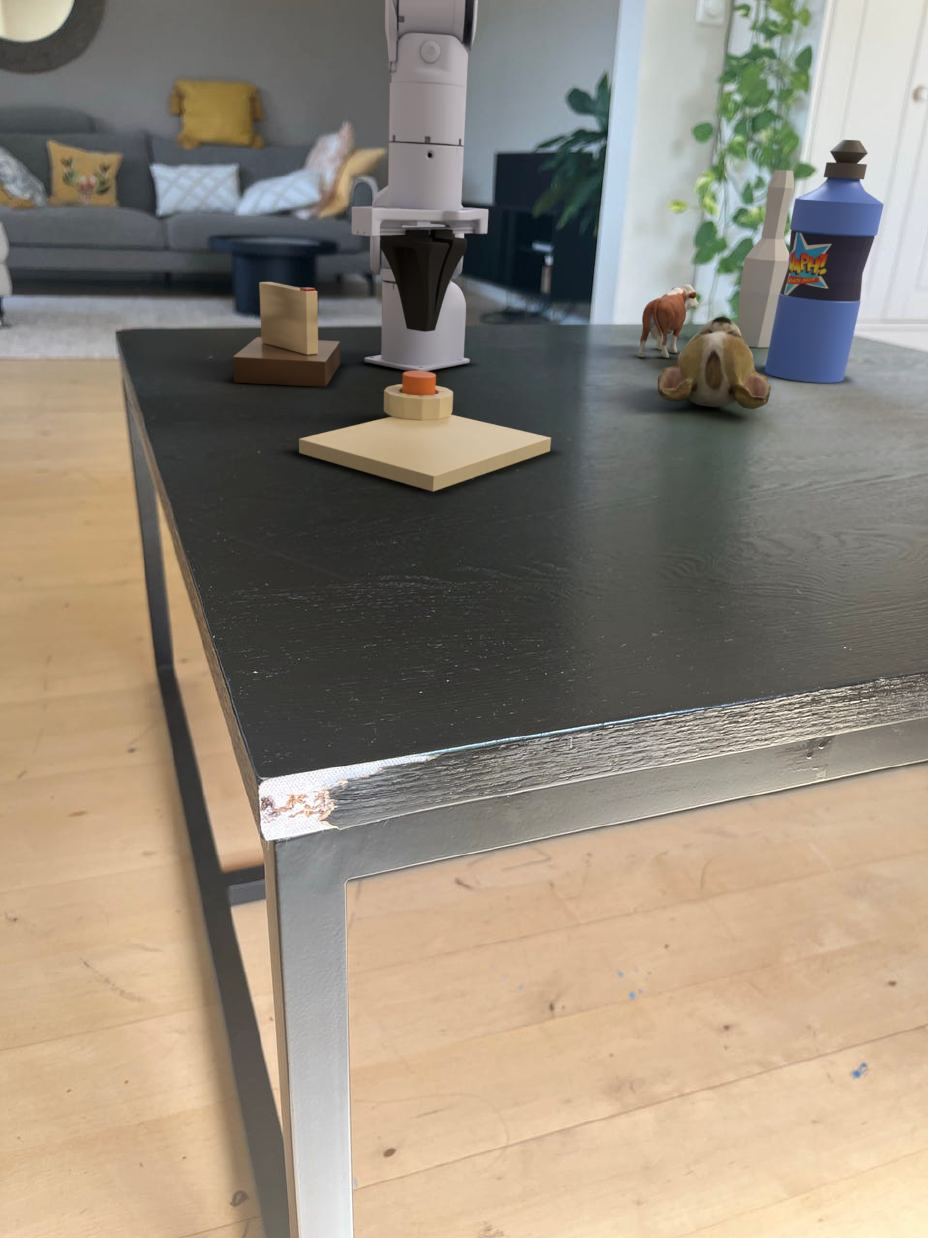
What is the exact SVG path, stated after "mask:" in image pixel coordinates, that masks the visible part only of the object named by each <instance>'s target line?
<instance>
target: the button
mask: <svg viewBox="0 0 928 1238" xmlns="http://www.w3.org/2000/svg"><path fill="white" fill-rule="evenodd" d="M401 380H402V381H401V382H402V383H401V384H402V393H404V394H409V395H420V396H421V395H435V389H436V386H437V385H436V384H437V374H436V373H433V372H432V371H431V372H430V371H404V372H403V373H402V379H401Z"/></svg>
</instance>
